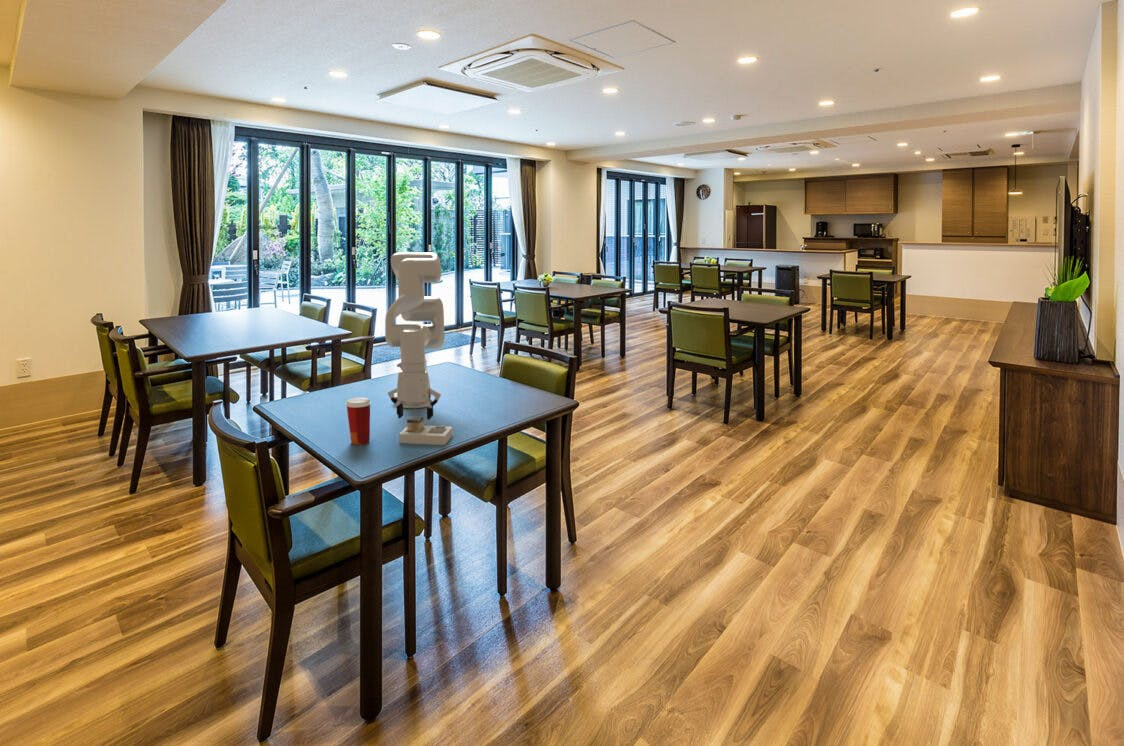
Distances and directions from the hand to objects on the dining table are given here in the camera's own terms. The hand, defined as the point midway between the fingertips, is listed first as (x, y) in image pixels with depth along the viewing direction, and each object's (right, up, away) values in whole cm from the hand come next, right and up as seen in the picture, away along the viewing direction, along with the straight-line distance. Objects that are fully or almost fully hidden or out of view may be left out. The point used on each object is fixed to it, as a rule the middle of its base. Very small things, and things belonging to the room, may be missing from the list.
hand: (415, 417), depth 202 cm
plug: (0, -7, +1) cm, 7 cm away
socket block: (+4, -7, +1) cm, 8 cm away
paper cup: (-17, -8, -4) cm, 19 cm away
